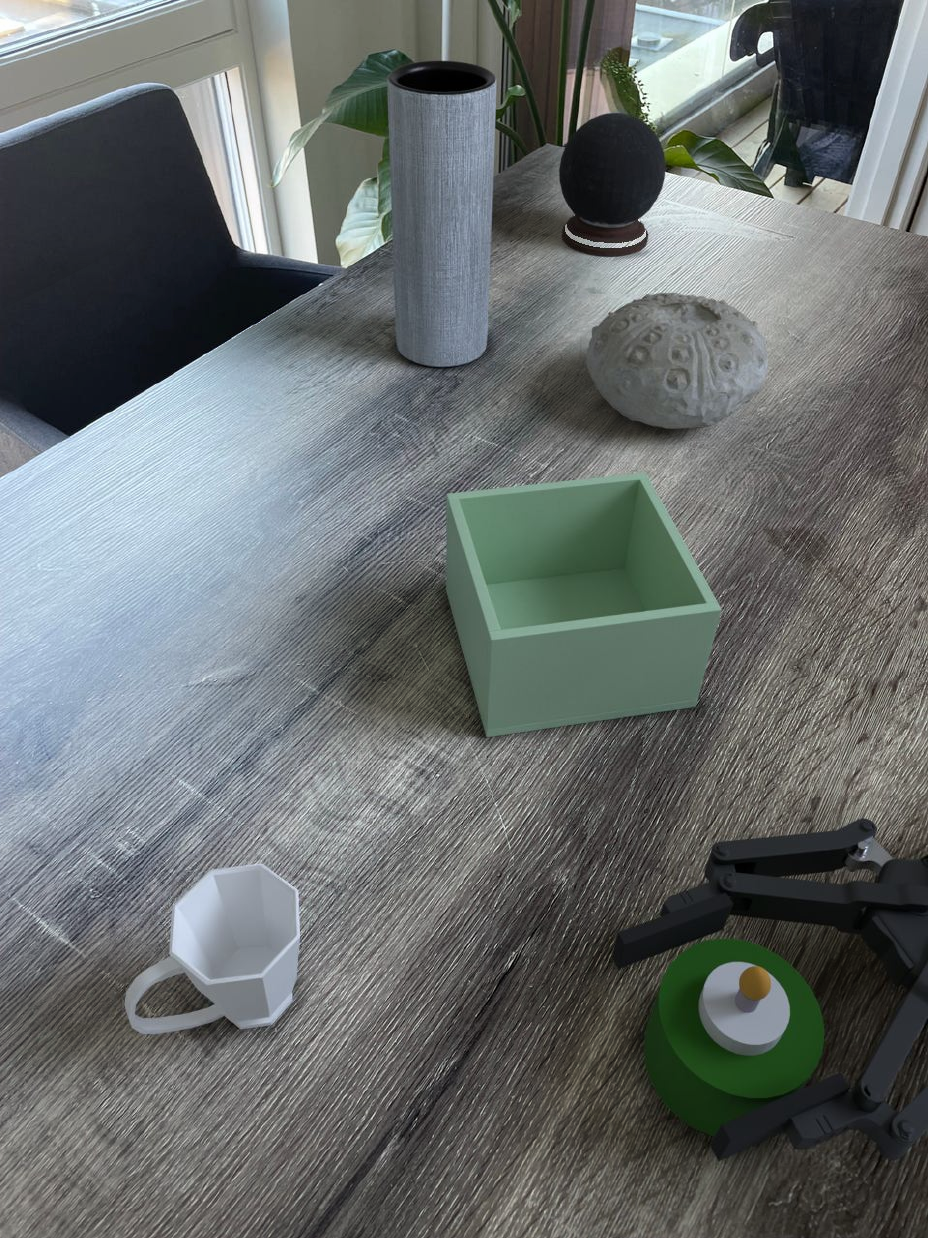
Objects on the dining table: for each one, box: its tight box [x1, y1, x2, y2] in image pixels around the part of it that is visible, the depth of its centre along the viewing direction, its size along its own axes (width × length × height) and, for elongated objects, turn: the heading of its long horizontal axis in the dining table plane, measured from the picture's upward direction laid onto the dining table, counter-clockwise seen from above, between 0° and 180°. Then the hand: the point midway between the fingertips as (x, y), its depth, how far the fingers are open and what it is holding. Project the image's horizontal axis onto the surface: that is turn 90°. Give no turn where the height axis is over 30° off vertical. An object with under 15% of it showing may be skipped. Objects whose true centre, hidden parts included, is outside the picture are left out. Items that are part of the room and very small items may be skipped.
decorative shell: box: [585, 292, 769, 430], centre depth 99 cm, size 18×18×10 cm
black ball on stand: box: [558, 112, 667, 258], centre depth 125 cm, size 13×13×15 cm
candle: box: [643, 937, 826, 1137], centre depth 51 cm, size 8×8×10 cm
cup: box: [124, 862, 301, 1035], centre depth 53 cm, size 7×10×8 cm
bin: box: [445, 471, 723, 738], centre depth 74 cm, size 16×16×10 cm
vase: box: [386, 60, 498, 368], centre depth 100 cm, size 10×10×27 cm
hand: (665, 1040), depth 49 cm, fingers open, 9 cm apart
